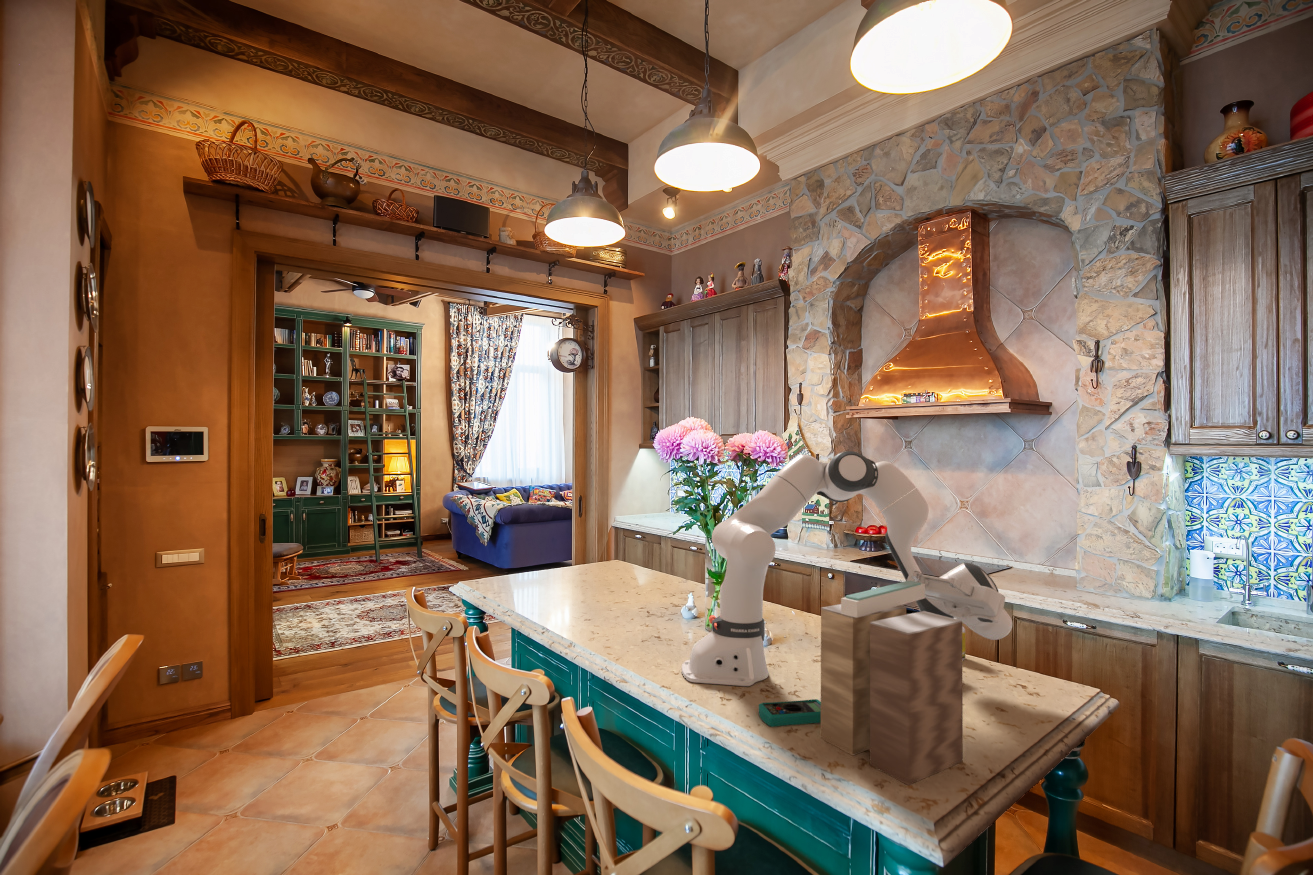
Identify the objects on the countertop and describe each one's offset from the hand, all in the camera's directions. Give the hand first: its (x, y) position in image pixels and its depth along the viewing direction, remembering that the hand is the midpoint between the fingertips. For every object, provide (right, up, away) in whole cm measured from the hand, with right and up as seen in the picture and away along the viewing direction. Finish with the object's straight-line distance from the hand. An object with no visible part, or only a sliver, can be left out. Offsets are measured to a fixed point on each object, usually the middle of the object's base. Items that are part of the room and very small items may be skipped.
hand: (933, 577), depth 135 cm
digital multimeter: (-32, -30, -4) cm, 44 cm away
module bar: (-15, -3, -10) cm, 18 cm away
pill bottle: (+22, -31, +36) cm, 53 cm away
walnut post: (-13, -29, -23) cm, 39 cm away
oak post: (-20, -29, -12) cm, 37 cm away
